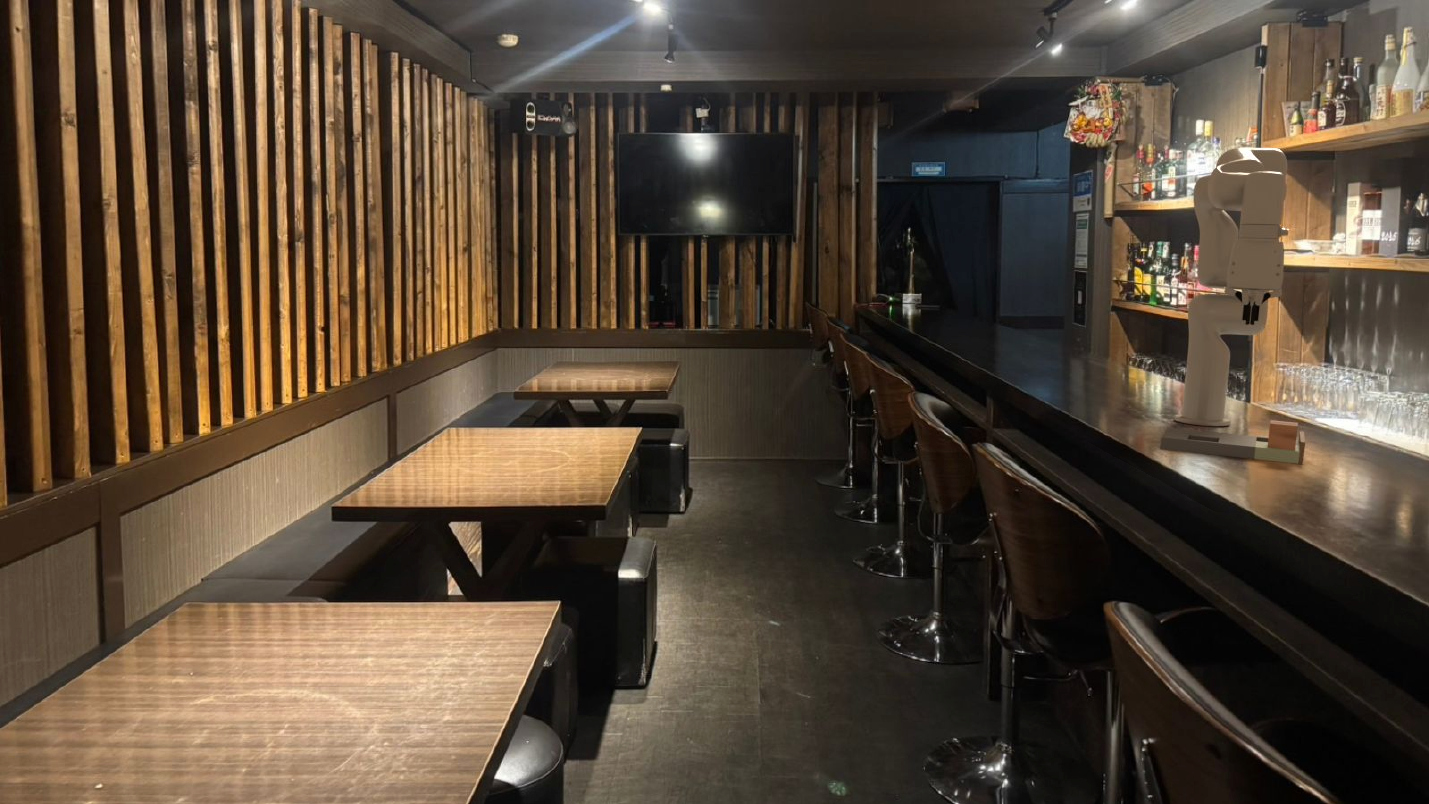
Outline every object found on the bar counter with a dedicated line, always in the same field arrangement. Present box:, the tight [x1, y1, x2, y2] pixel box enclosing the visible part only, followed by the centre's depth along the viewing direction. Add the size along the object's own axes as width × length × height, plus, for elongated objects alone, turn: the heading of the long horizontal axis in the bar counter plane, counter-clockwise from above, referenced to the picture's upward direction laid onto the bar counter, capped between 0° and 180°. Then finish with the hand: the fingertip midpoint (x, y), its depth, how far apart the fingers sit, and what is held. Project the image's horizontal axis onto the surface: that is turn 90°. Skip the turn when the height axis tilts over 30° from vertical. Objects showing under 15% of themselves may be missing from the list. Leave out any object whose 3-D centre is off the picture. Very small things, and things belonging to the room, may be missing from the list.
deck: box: [1159, 427, 1306, 465], centre depth 235 cm, size 15×27×4 cm, turn 63°
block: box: [1267, 419, 1299, 451], centre depth 227 cm, size 5×5×5 cm
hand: (1249, 324), depth 228 cm, fingers closed
